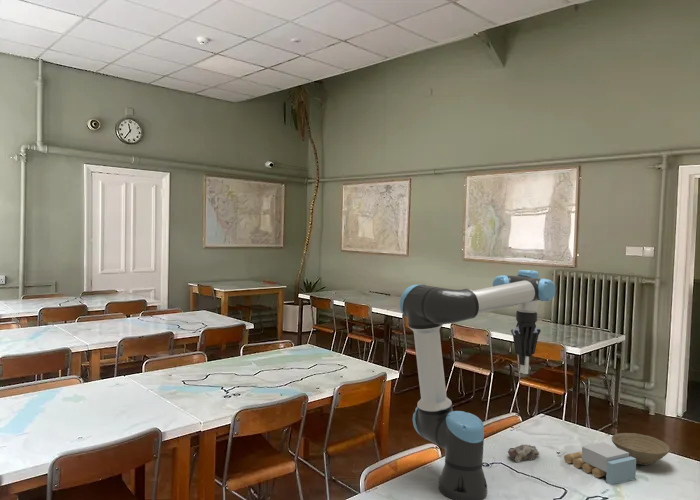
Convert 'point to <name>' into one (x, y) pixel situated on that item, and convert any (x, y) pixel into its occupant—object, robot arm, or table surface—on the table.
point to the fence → (621, 470)
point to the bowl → (641, 447)
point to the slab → (601, 454)
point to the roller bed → (583, 464)
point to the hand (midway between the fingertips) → (524, 373)
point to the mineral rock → (523, 452)
